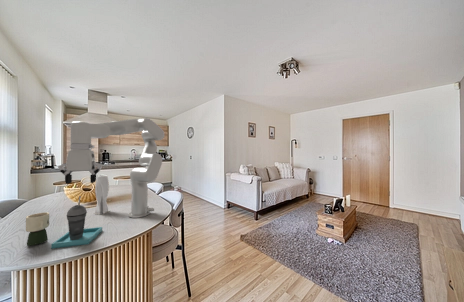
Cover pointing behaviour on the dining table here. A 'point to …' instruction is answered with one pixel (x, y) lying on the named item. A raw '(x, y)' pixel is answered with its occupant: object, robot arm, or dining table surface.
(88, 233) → the tray
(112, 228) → the dining table surface
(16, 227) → the dining table surface
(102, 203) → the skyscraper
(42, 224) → the character mug
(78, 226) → the beverage cup
